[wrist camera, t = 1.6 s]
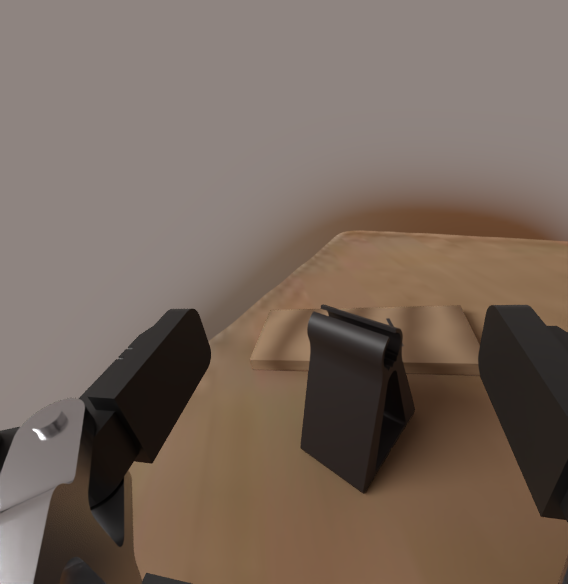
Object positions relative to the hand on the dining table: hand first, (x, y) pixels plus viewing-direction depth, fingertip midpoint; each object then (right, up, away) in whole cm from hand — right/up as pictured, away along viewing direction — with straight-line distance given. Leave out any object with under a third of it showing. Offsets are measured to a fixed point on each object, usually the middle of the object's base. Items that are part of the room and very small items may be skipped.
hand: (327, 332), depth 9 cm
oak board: (+8, -5, +29) cm, 30 cm away
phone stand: (+5, -11, +19) cm, 22 cm away
